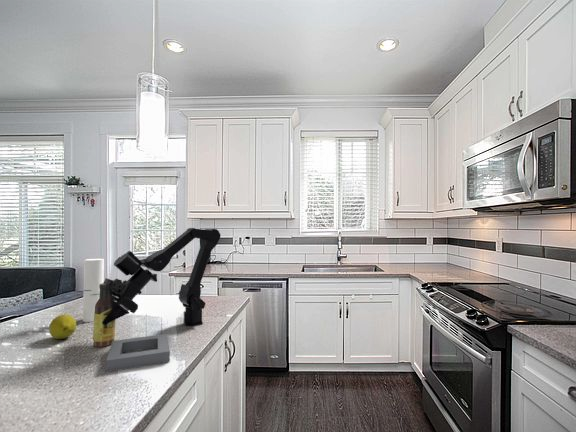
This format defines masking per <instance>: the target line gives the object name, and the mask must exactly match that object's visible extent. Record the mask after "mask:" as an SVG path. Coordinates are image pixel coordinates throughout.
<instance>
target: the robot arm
mask: <svg viewBox="0 0 576 432" xmlns="http://www.w3.org/2000/svg"><path fill="white" fill-rule="evenodd" d="M194 239H199V250H198V253H197V256H196V259H195V261H194V265H193V266H192V267H193V268H192V271H191V272H190V276H189V279H188V281H187V282H186V283H185V284H184V283H182V284H181V285H180V290H179V292H178V293H177V294H178V299H179V302H180V303H181V304H182V306H183V308H184V307H185V308H184V311H183V324H185V326H186V327H188V326H189V327H190V326H196V325H203V324H204V322H203V309H205V307H206V304H207V303H206V302H205V301H204V300H203V299H202V298H201V294H202V288H201V283H202V281H203V278H204V274H205V271H206V268H207V266H208V262H209V259H210V257H211V254H212V251H213V250H214V249H215V248H216V246H217V245H218V243H219V241H220V240H221V233H220V230H218V229H217V228H204V229H203V228H202V229H200V228H197V227H188V228H187V229H186V230H185V231H184V232H182V234H180V235H179V236H178V237H176V238H175V239H174V240H173V241H171V242H170V243H169V244H167V245H166V246H165V247H164V248H161V249H160V250H157V251H155V252H153V253H151V254H149V255H148V256H146V258H142V259H139V258H138V257H137V256H136V255H135V254H134V253H133V251H131V250H128V251H127V252H126V253H125V252H124V254H122V255H120V256H119V257H118V258H117V259H116V260H114V263H113V266H114V267H115V268H116V269H118V270H119V271H120V272H121V273H123V275H124V276H129V275H130V277H129V279H127V280H126V279H124V280H122V279H120V278H119V279H118V278H115V279H114V280H113V279H110V278H107V277H105V279H104V283H103V284H106V285H105V287H104V288H105V289H108V290H113V291H112V295H113V296H112V297H113V300H114V301H113V308H112V310H111V311H110V312H109V314H108V315H107V316H106V318H105V319H104V320H103V322H102V324H103V325H106V324H108V323H110V322H111V321H113V320H115V319H116V320H118V319H119V318H121V317H124V316H125V315H129V314H130V313H132V314H135V313H136V312H137V310H138V308H139V305H138V303H136V302H135V301H134V299H135V297H136V296H138V295H141V294H142V293H143V292H142V290H143V289H144V288H145V287H146V285H147V284H148V283H149V282H150V281H152V282H154V283H157V282H158V274H157V273H152V271H153V272H161V271H163V270H164V269H165V268H166V267H167V266H168V265H169V264H170V262H171V260H172V259H173V257H174V256H175V255H177V253H179V252H180V251H181V250H182V249H184V248H185V247H187V245H189V243H191V242H193V241H194ZM143 267H144V268H146V269H144V268H143Z"/></svg>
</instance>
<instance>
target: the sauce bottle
mask: <svg viewBox="0 0 576 432" xmlns="http://www.w3.org/2000/svg"><path fill="white" fill-rule="evenodd" d="M105 285H106V284H100V286H99V288H100V296H99V297H100V298H99V300H98V301H97V303H96V305H95V313H94V321H93V330H92V331H93V333H92V335H93V336H92V341H93V343H92V345H93V346H94V347H96V348H97V347H98V348H102V347H108V346H111V344H112V341H115V338H116V320H117V319H115V320H113V321H111V322H110V323H108V324H106V325H103V324H102V322H103V320H104V319H105V318H106V316H107V315H108V314H109V312H110V311H111V310H112V308H113V301H114V300H113V297H112V296H113V295H112V291H113V290H108V289H105V288H104V287H105Z"/></svg>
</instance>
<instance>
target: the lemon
mask: <svg viewBox="0 0 576 432" xmlns="http://www.w3.org/2000/svg"><path fill="white" fill-rule="evenodd" d="M76 330H77V321H76V319H75V317H73V315H70V314H61V315H58V316H56V317H54V318H53V319H52V320H51V322H50V323H49V325H48V331H49V332H48V333H49V334H50V336H51V337H52V338H54V339H55V340H57V339H58V340H63V339H66V338H68V337H70V336H72V335H73V334H74V333H75V331H76Z"/></svg>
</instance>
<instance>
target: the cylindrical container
mask: <svg viewBox="0 0 576 432" xmlns="http://www.w3.org/2000/svg"><path fill="white" fill-rule="evenodd" d="M104 272H105V259H104V258H87V259H84V261H83V292H82V296H83V297H82V299H83V300H82V322H83V323H85V322H86V323H89V322H90V323H94V313H95V305H96V303H97V301H98V300H99V298H100V297H99V296H100V288H99V286H100V284H103V283H104V281H105V279H104V277H105V276H104V274H105V273H104Z"/></svg>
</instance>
